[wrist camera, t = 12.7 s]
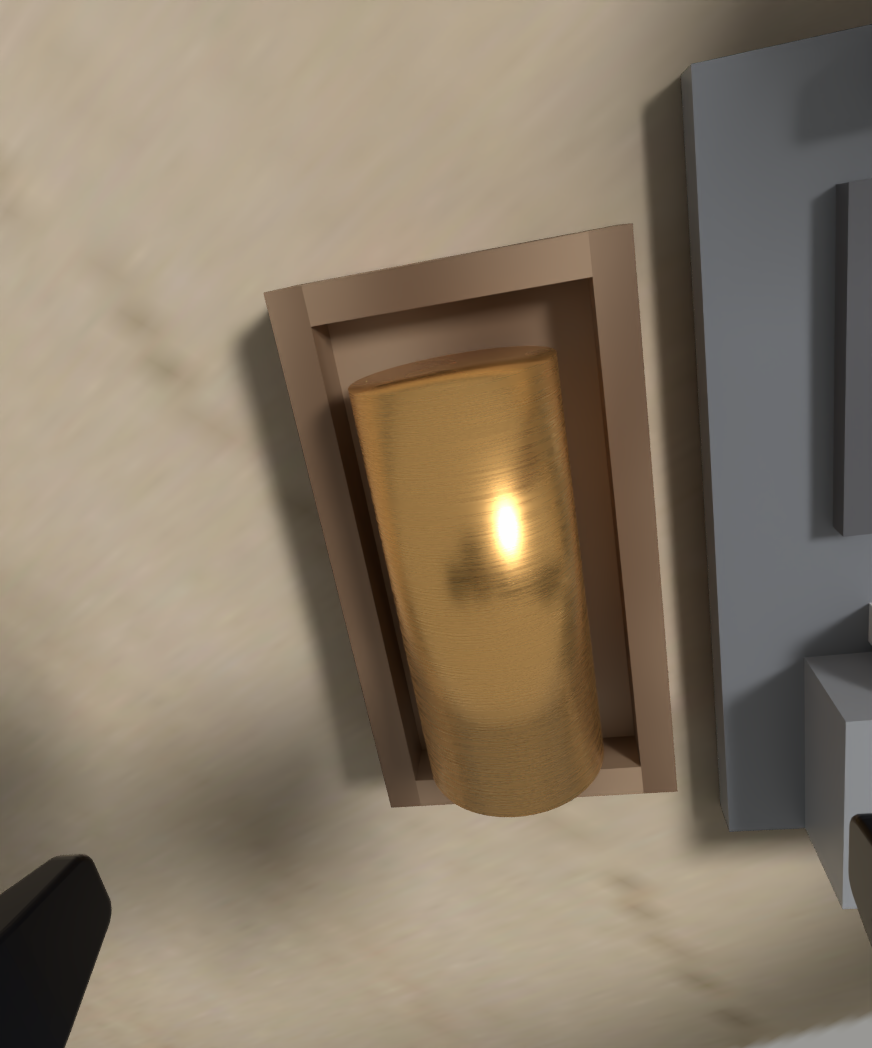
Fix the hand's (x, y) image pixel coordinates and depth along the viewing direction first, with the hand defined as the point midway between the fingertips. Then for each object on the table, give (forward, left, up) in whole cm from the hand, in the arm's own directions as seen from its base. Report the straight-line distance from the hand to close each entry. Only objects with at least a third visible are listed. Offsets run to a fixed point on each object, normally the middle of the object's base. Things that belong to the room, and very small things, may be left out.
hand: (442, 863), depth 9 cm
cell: (0, 0, -8) cm, 8 cm away
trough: (0, 0, -11) cm, 11 cm away
